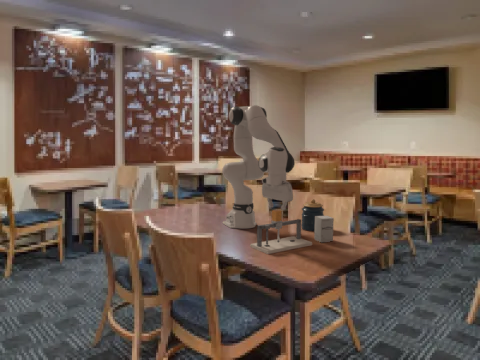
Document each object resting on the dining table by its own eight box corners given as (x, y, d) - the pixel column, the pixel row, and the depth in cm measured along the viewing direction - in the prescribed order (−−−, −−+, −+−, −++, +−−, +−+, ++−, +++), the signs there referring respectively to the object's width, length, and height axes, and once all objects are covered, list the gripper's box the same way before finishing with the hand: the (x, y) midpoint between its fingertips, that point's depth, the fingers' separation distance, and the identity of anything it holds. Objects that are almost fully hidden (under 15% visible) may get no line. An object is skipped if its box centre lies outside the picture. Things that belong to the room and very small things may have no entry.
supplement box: (320, 242, 203) (320, 218, 202) (313, 239, 210) (314, 215, 209) (333, 241, 205) (334, 217, 204) (326, 238, 212) (327, 215, 211)
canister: (324, 231, 226) (325, 201, 224) (301, 231, 228) (301, 200, 226) (323, 226, 239) (323, 197, 237) (301, 225, 241) (301, 197, 239)
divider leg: (271, 241, 198) (271, 210, 196) (276, 240, 200) (277, 209, 198) (276, 243, 195) (276, 211, 193) (281, 241, 196) (282, 210, 195)
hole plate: (250, 247, 195) (250, 223, 194) (293, 238, 211) (294, 217, 209) (267, 254, 184) (267, 229, 182) (312, 245, 199) (312, 222, 198)
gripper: (296, 181, 187) (296, 210, 188) (269, 178, 204) (269, 205, 205) (285, 182, 183) (285, 212, 185) (259, 179, 200) (259, 206, 202)
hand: (277, 208), depth 195 cm, fingers open, 8 cm apart
